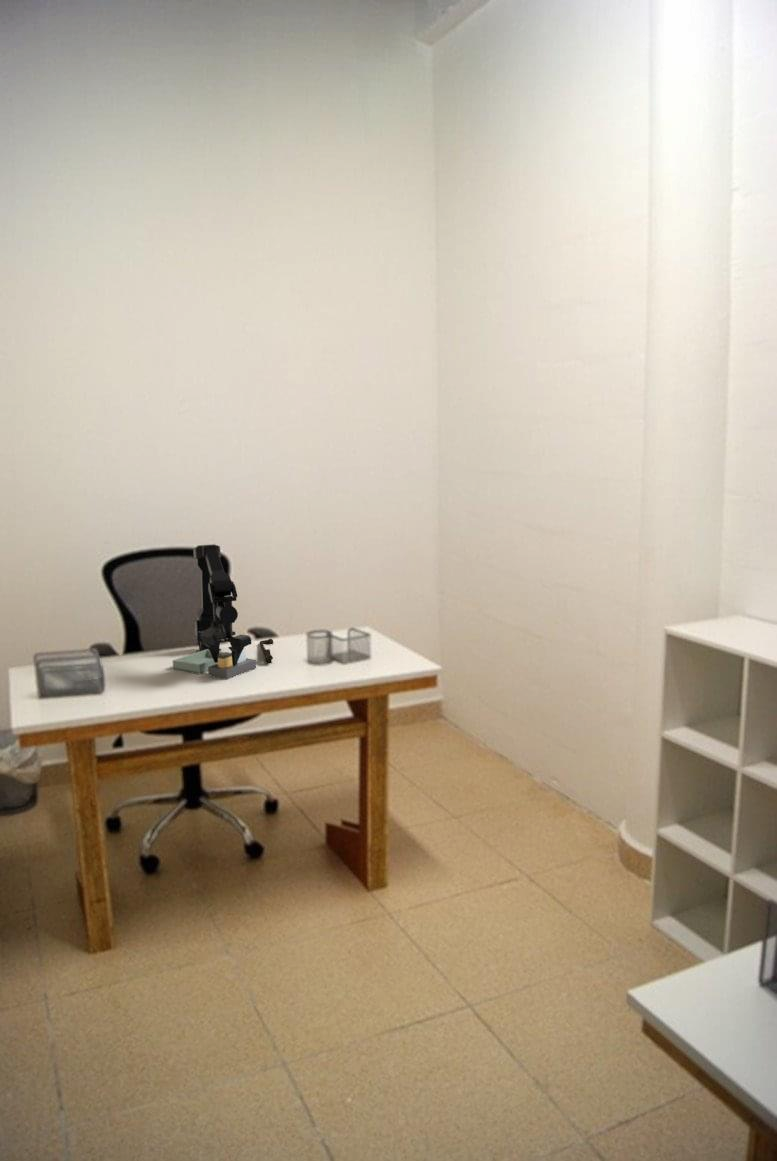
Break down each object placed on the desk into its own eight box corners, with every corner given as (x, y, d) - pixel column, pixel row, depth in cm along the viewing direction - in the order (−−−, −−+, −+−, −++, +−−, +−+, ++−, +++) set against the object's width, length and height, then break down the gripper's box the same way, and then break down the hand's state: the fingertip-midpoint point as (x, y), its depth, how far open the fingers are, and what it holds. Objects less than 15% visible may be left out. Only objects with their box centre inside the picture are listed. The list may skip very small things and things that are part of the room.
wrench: (274, 648, 327) (281, 665, 298) (260, 650, 326) (266, 667, 297) (272, 634, 326) (279, 649, 297) (258, 636, 325) (264, 651, 296)
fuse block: (208, 675, 287) (208, 666, 287) (238, 665, 299) (237, 656, 298) (227, 679, 283) (226, 670, 282) (256, 668, 294) (255, 659, 294)
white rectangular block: (232, 670, 292) (231, 650, 291) (240, 667, 296) (239, 647, 294) (238, 671, 291) (237, 651, 290) (246, 668, 294) (245, 648, 293)
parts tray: (173, 669, 296) (172, 660, 295) (207, 657, 309) (206, 649, 308) (199, 674, 289) (199, 665, 289) (233, 662, 302) (232, 653, 302)
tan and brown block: (218, 675, 287) (217, 654, 286) (227, 672, 290) (226, 651, 289) (224, 676, 286) (223, 655, 284) (233, 673, 289) (231, 653, 288)
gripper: (183, 619, 283) (186, 666, 286) (227, 625, 273) (229, 674, 276) (208, 612, 292) (210, 658, 295) (251, 618, 282) (253, 665, 285)
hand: (225, 664), depth 287 cm, fingers open, 8 cm apart
